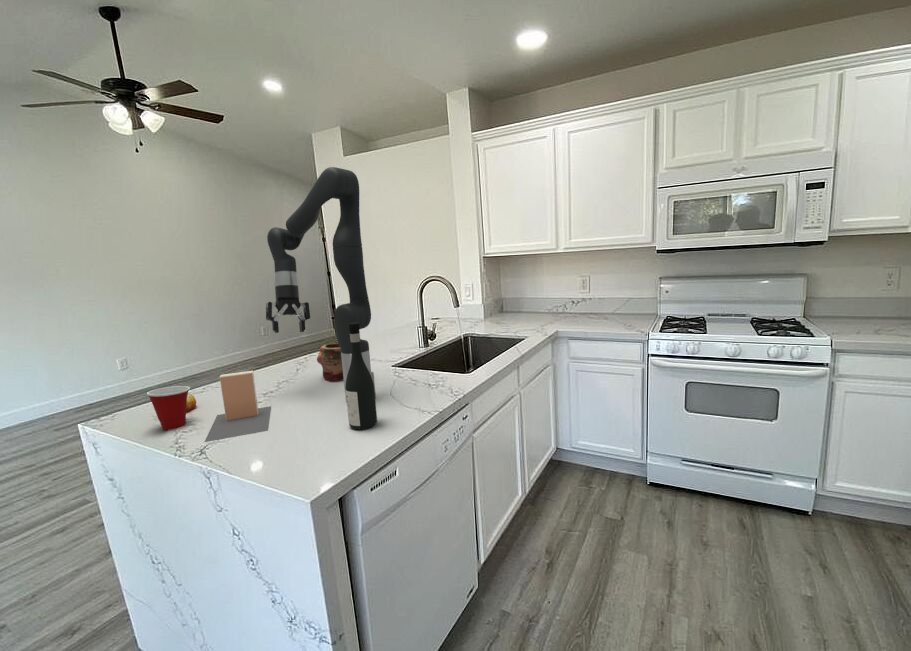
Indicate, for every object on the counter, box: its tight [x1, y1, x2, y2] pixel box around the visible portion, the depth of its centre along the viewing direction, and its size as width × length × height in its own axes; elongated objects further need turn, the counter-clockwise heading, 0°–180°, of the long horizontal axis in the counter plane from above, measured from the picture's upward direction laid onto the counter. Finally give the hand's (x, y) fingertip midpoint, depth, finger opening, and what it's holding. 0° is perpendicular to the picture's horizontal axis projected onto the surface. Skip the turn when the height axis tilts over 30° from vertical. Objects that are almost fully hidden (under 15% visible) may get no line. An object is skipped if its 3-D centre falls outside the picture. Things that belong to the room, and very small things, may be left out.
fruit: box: [186, 392, 197, 414], centre depth 142 cm, size 11×10×8 cm
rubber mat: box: [204, 405, 272, 443], centre depth 128 cm, size 22×16×1 cm
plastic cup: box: [146, 385, 191, 432], centre depth 128 cm, size 11×11×12 cm
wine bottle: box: [344, 322, 378, 431], centre depth 120 cm, size 8×8×30 cm
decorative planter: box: [316, 342, 344, 383], centre depth 170 cm, size 20×12×14 cm, turn 71°
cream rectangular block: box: [219, 370, 259, 421], centre depth 132 cm, size 3×9×14 cm, turn 111°
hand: (289, 332), depth 146 cm, fingers open, 8 cm apart
